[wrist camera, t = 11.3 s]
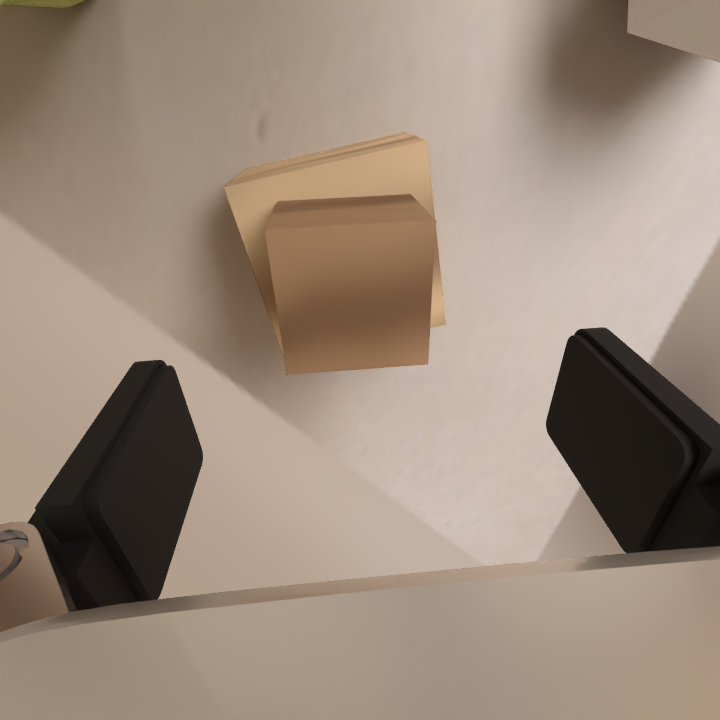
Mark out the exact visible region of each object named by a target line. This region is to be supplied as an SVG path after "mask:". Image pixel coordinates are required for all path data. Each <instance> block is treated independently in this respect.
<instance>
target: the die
mask: <svg viewBox="0 0 720 720" xmlns="http://www.w3.org/2000/svg"><path fill="white" fill-rule="evenodd" d="M627 33H630V34H633V35H636V36H639V37H642V38H645V39H648V40H652V41H655V42H658V43H661V44H664V45H667V46H670V47H673V48H677V49H680V50H683V51H686V52H689V53H692V54H695V55H698V56H702V57H705V58H708V59H711V60H714V61H717V62H720V0H628V22H627Z"/></svg>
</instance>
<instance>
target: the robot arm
mask: <svg viewBox="0 0 720 720" xmlns="http://www.w3.org/2000/svg"><path fill="white" fill-rule="evenodd" d="M546 428H547V432H548V434H549V436H550V438H551V439H552V441H553V442H554V444H555V446H556V447H557V449H558V450H559V452H560V453H561V455H562V456H563V458H564V460H565V461H566V463H567V464H568V466H569V467H570V469H571V470H572V472H573V473H574V475H575V477H576V478H577V480H578V481H579V483H580V484H581V486H582V487H583V489H584V490H585V492H586V494H587V495H588V497H589V498H590V499H591V501H592V503H593V504H594V505H595V507H596V509H597V511H598V512H599V514H600V515H601V517H602V518H603V520H604V521H605V523H606V524H607V526H608V527H609V529H610V531H611V532H612V534H613V535H614V537H615V538H616V540H617V541H618V543H619V545H620V546H621V548H622V549H623V550H624V551H625V552H626V554H615V555H604V556H593V557H582V558H571V559H559V560H548V561H537V562H526V563H515V564H504V565H494V566H483V567H473V568H462V569H453V570H441V571H430V572H420V573H410V574H399V575H389V576H379V577H368V578H358V579H348V580H338V581H328V582H319V583H308V584H298V585H288V586H278V587H269V588H258V589H250V590H238V591H229V592H219V593H209V594H201V595H192V596H184V597H175V598H167V599H159V600H157V599H158V598H159V596H160V594H161V591H162V588H163V585H164V582H165V579H166V575H167V572H168V569H169V566H170V563H171V560H172V557H173V553H174V550H175V547H176V544H177V541H178V538H179V535H180V531H181V528H182V525H183V522H184V519H185V516H186V513H187V510H188V506H189V503H190V500H191V497H192V494H193V491H194V488H195V484H196V481H197V478H198V475H199V472H200V469H201V466H202V461H203V453H202V448H201V445H200V442H199V439H198V436H197V433H196V430H195V427H194V424H193V421H192V418H191V415H190V413H189V410H188V407H187V404H186V401H185V398H184V395H183V392H182V389H181V386H180V383H179V380H178V377H177V374H176V371H175V369H174V368H173V366H167V365H166V363H165V362H164V361H162V360H154V361H141V362H135V363H134V364H133V365H132V366H131V368H130V369H129V371H128V372H127V373H126V375H125V376H124V378H123V379H122V381H121V382H120V384H119V385H118V387H117V388H116V390H115V391H114V392H113V394H112V395H111V397H110V398H109V400H108V401H107V403H106V404H105V406H104V407H103V409H102V410H101V411H100V413H99V414H98V416H97V418H96V419H95V420H94V422H93V423H92V425H91V426H90V428H89V429H88V431H87V432H86V434H85V435H84V437H83V438H82V439H81V441H80V443H79V444H78V445H77V447H76V448H75V450H74V451H73V453H72V454H71V456H70V457H69V459H68V460H67V462H66V463H65V465H64V466H63V467H62V469H61V470H60V472H59V473H58V475H57V476H56V478H55V479H54V481H53V482H52V483H51V485H50V487H49V488H48V489H47V491H46V492H45V494H44V495H43V497H42V498H41V500H40V501H39V503H38V504H37V506H36V507H35V509H36V511H35V513H34V514H33V515H32V517H31V519H30V520H29V522H28V523H25V522H9V523H5V524H1V525H0V720H720V424H718V423H717V422H716V421H715V420H714V419H713V418H711V417H710V416H709V415H708V414H707V413H706V412H704V411H703V410H702V409H701V408H700V407H699V406H697V405H696V404H695V403H694V402H693V401H692V400H690V399H689V398H688V397H687V396H686V395H685V394H683V393H682V392H681V391H680V390H679V389H677V388H676V387H675V386H674V385H673V384H672V383H670V382H669V381H668V380H667V379H666V378H665V377H663V376H662V375H661V374H660V373H659V372H658V371H656V370H655V369H654V368H653V367H652V366H651V365H649V364H648V363H647V362H646V361H645V360H644V359H642V358H641V357H640V356H639V355H638V354H637V353H635V352H634V351H633V350H632V349H631V348H630V347H628V346H627V345H626V344H625V343H624V342H622V341H621V340H620V339H619V338H618V337H617V336H615V335H614V334H613V333H612V332H611V331H610V330H608V329H607V328H589V329H579V330H578V331H577V332H576V333H575V334H574V336H571V337H570V338H569V339H568V341H567V344H566V348H565V352H564V356H563V359H562V363H561V367H560V371H559V375H558V378H557V382H556V386H555V390H554V394H553V397H552V401H551V405H550V409H549V412H548V416H547V420H546Z"/></svg>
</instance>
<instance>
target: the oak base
mask: <svg viewBox="0 0 720 720" xmlns="http://www.w3.org/2000/svg"><path fill="white" fill-rule="evenodd" d="M224 189H225V192H226V195H227V198H228V201H229V204H230V206H231V209H232V212H233V215H234V218H235V221H236V224H237V226H238V229H239V232H240V235H241V238H242V241H243V244H244V247H245V249H246V252H247V255H248V258H249V261H250V264H251V267H252V269H253V272H254V275H255V278H256V281H257V284H258V287H259V289H260V292H261V295H262V298H263V301H264V304H265V307H266V309H267V312H268V315H269V318H270V321H271V324H272V327H273V329H274V332H275V335H276V338H277V341H278V344H279V347H280V349H281V352H282V355H283V358H284V353H283V347H282V340H281V334H280V327H279V321H278V314H277V308H276V301H275V295H274V288H273V281H272V275H271V268H270V262H269V255H268V249H267V242H266V236H265V228H266V226H267V223H268V221H269V219H270V217H271V215H272V213H273V210H274V208H275V206H276V204H277V202H278V201H290V200H309V199H327V198H346V197H365V196H383V195H402V194H411V195H412V196H413V197H414V198H415V199H416V200H417V201H418V202H419V203H420V204H421V205H422V206H423V207H424V208H425V209H426V210H427V211H428V212H429V213H430V214H431V215H432V217H433V218H434V219H435V215H434V205H433V196H432V186H431V176H430V167H429V157H428V147H427V140H424V139H421V138H419V137H416V136H413V135H410V134H408V133H405V132H404V133H399V134H395V135H391V136H386V137H382V138H378V139H373V140H369V141H365V142H360V143H356V144H352V145H348V146H343V147H339V148H335V149H330V150H326V151H322V152H317V153H313V154H309V155H305V156H300V157H296V158H292V159H287V160H283V161H279V162H274V163H270V164H266V165H261V166H257V167H253V168H249V169H244V170H243V171H242V172H241V173H240V174H239V175H238V176H236V177H235V178H234V179H233V180H232V181H231V182H229V183H228V184H227V185H226V186H225V187H224ZM445 324H446V322H445V312H444V302H443V293H442V283H441V273H440V264H439V254H438V244H437V235H436V228H435V247H434V265H433V283H432V301H431V319H430V327H435V326H440V325H445Z"/></svg>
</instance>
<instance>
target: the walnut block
mask: <svg viewBox="0 0 720 720" xmlns="http://www.w3.org/2000/svg"><path fill="white" fill-rule="evenodd" d="M435 228H436V220H435V219H434V218H433V217H432V215H431V214H430V213H429V212H428V211H427V210H426V209H425V208H424V207H423V206H422V205H421V204H420V203H419V202H418V201H417V200H416V199H415V198H414V197H413V196H412V195H411V194H402V195H383V196H365V197H346V198H327V199H309V200H290V201H278V202H277V204H276V206H275V208H274V210H273V213H272V215H271V217H270V219H269V221H268V223H267V226H266V228H265V236H266V242H267V249H268V255H269V262H270V268H271V275H272V281H273V288H274V295H275V301H276V308H277V314H278V321H279V327H280V334H281V340H282V347H283V353H284V360H285V367H286V373H287V374H300V373H314V372H328V371H342V370H356V369H369V368H383V367H397V366H411V365H425V364H428V355H429V337H430V319H431V301H432V283H433V265H434V247H435Z"/></svg>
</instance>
